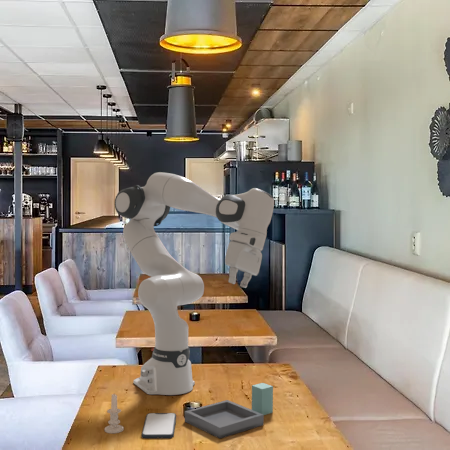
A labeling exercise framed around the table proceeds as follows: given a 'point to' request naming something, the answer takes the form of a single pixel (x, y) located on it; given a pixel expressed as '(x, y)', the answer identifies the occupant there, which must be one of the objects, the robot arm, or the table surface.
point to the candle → (114, 417)
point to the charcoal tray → (224, 418)
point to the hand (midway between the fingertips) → (237, 285)
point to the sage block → (262, 398)
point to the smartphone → (159, 425)
